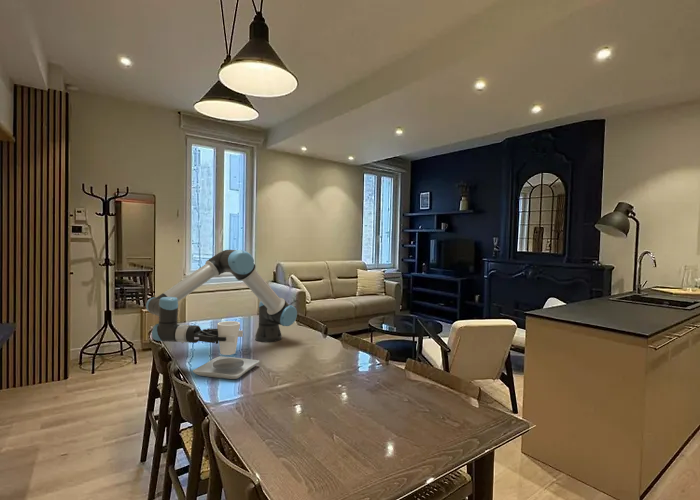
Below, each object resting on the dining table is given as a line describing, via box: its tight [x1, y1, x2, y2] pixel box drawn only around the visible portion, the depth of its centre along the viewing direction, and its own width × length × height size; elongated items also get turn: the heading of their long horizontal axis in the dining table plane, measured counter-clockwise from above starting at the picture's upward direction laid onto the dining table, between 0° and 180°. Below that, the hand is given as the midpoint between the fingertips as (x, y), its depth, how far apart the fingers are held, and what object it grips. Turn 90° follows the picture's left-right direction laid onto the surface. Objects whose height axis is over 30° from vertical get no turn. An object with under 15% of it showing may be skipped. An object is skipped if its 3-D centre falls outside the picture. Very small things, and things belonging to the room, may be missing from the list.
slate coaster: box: [213, 357, 244, 370], centre depth 168 cm, size 13×13×1 cm
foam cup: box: [216, 320, 241, 356], centre depth 168 cm, size 10×9×13 cm
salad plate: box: [192, 355, 260, 380], centre depth 168 cm, size 21×21×3 cm
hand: (238, 336), depth 167 cm, fingers closed on foam cup, 9 cm apart
